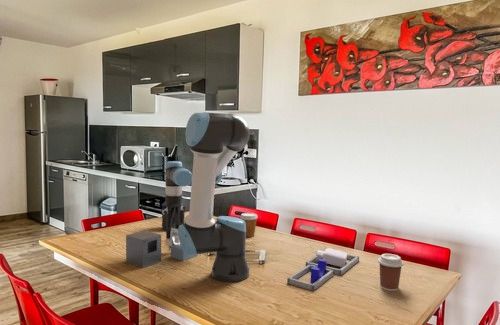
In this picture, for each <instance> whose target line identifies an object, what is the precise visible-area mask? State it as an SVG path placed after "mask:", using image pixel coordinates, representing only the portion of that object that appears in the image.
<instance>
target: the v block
mask: <svg viewBox="0 0 500 325" xmlns="http://www.w3.org/2000/svg"><path fill="white" fill-rule="evenodd" d="M194 257H195V258H196V257H198V254H197V255H186V254H185V253H184V252H183V250H182V248H181V245H180V246H178V245H174V244H173V245H172V246H170V258H173V259H175V260H179V261H182V262H184V261H188V260H189V259H192V258H194Z"/></svg>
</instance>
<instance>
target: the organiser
mask: <svg viewBox="0 0 500 325" xmlns="http://www.w3.org/2000/svg"><path fill="white" fill-rule="evenodd" d="M319 259H321V260H322V259H323V258H322V257H318V256H316V255H315V256H314V257H311V258H310V259H309V260H307V261H306V262H305V266H304V267H303V268H302V269H300V270H298V271H297V272H295V273H293V274H292V275H290V276H289V277H286V278H287V279H286V280H287V282H286V283H287V284H289V285H291V286H292V285H293V286H296V287H299V288H301V289H302V288H303V289H306V290H309V291H313V292H314V291H315V290H316V289H318V288H319V287H321V286H322V285H324V283H325V282H327V281H328V280H330V279H331V278H333V277H334V275H337V276H342V275H343V274H345V273H346V272H347V271H348V270H350V269H351V268H352V267H354V266H355V265H356V264H357V263H359V262H360V256H358V255H353V254H347V260H350V261H349V262H347V263H345V266H344V267H340V269H339V268H335V267H330V266H327V265H326V274H325V275H324V276H323V277H321V278H320V279H319V280H317V281H316V282H315V283H313V284H311V282H310V283H309V282H307V281H303V280H300V278H301V277H303V276H304V275H305V274H307V273H308V272H311V268H312V267H313V268H314V267H315V266H318V260H319Z"/></svg>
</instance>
